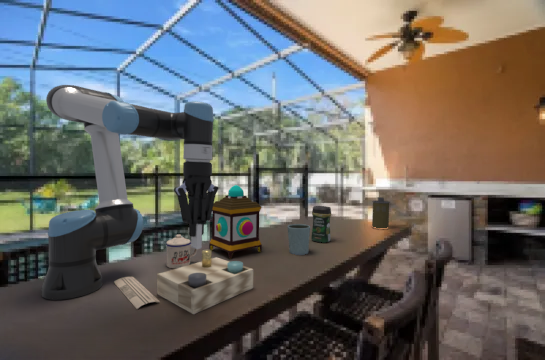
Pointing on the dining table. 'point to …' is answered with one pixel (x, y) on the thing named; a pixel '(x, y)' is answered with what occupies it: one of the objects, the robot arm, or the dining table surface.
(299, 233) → the blue cup
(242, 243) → the decorative lantern
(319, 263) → the dining table surface
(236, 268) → the teal knob
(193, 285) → the grey knob
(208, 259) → the brass post
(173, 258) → the teacup with lid
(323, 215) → the coffee jar
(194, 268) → the mount
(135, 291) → the newspaper
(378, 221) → the canister
